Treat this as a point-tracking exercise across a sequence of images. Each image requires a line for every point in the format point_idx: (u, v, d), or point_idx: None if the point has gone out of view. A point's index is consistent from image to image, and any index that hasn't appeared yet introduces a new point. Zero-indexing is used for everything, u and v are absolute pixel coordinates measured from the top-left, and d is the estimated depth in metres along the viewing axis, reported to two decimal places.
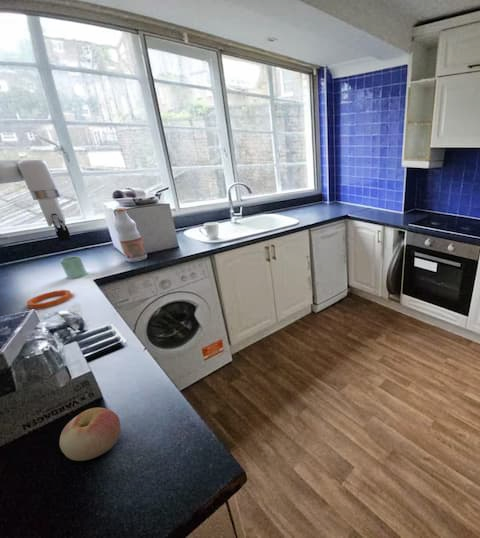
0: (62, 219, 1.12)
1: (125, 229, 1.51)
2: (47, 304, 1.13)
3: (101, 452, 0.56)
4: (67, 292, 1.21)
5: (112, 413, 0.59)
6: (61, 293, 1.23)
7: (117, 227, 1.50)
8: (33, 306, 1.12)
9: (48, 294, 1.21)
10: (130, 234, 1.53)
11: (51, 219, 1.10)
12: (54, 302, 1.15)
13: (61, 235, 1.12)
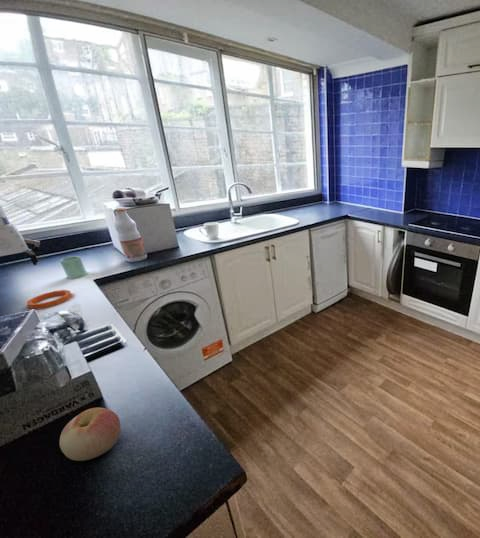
0: None
1: (125, 229, 1.51)
2: (47, 304, 1.13)
3: (101, 452, 0.56)
4: (67, 292, 1.21)
5: (112, 413, 0.59)
6: (61, 293, 1.23)
7: (117, 227, 1.50)
8: (33, 306, 1.12)
9: (48, 294, 1.21)
10: (130, 234, 1.53)
11: (25, 243, 1.09)
12: (54, 302, 1.15)
13: (36, 258, 1.12)
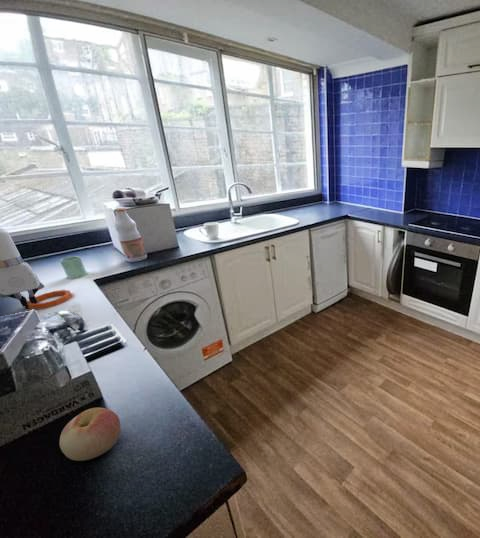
0: None
1: (125, 229, 1.51)
2: (47, 304, 1.13)
3: (101, 452, 0.56)
4: (67, 292, 1.21)
5: (112, 413, 0.59)
6: (61, 293, 1.23)
7: (117, 227, 1.50)
8: (33, 306, 1.12)
9: (48, 294, 1.21)
10: (130, 234, 1.53)
11: (37, 280, 1.13)
12: (54, 302, 1.15)
13: (35, 299, 1.15)
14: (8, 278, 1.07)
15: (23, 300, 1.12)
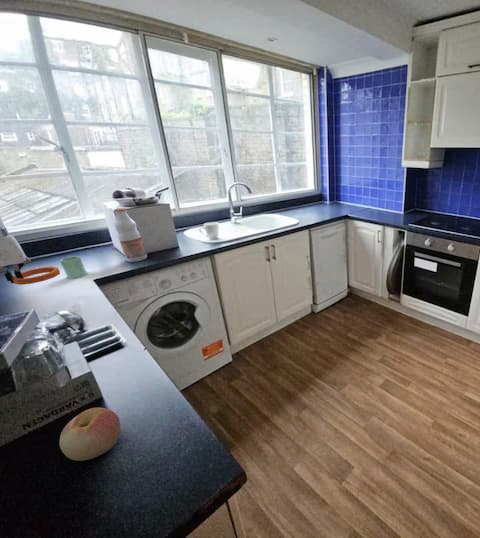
0: None
1: (125, 229, 1.51)
2: (33, 279, 1.09)
3: (101, 452, 0.56)
4: (55, 268, 1.17)
5: (112, 413, 0.59)
6: (49, 270, 1.19)
7: (117, 227, 1.50)
8: (18, 281, 1.08)
9: (35, 270, 1.17)
10: (130, 234, 1.53)
11: (24, 254, 1.09)
12: (41, 277, 1.11)
13: (21, 274, 1.11)
14: None
15: (8, 274, 1.08)
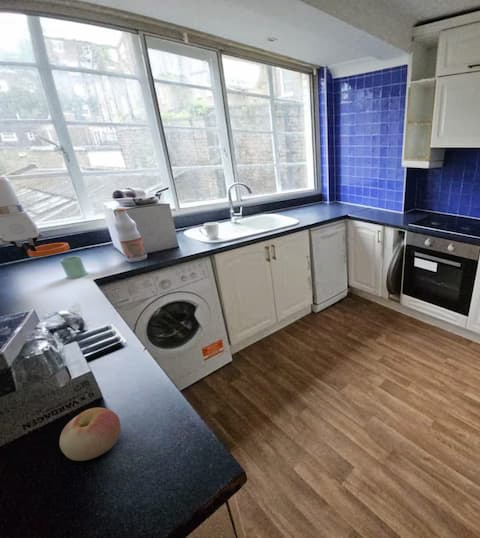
0: None
1: (125, 229, 1.51)
2: (45, 252, 1.20)
3: (101, 452, 0.56)
4: (65, 244, 1.27)
5: (112, 413, 0.59)
6: (59, 245, 1.29)
7: (117, 227, 1.50)
8: (32, 253, 1.18)
9: (47, 245, 1.27)
10: (130, 234, 1.53)
11: (37, 229, 1.20)
12: (52, 251, 1.21)
13: (35, 248, 1.21)
14: (9, 224, 1.13)
15: (23, 247, 1.18)
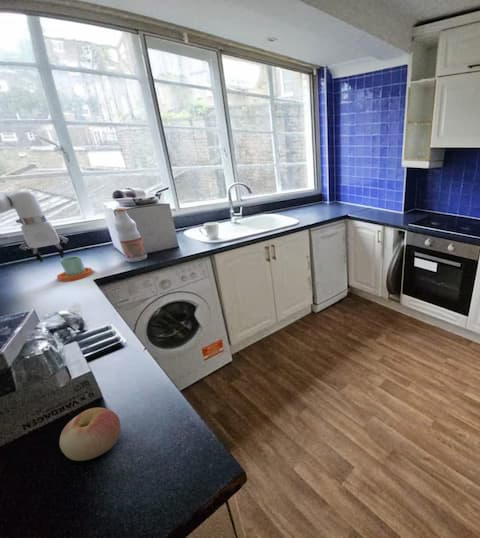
0: None
1: (125, 229, 1.51)
2: (74, 277, 1.37)
3: (101, 452, 0.56)
4: (89, 269, 1.45)
5: (112, 413, 0.59)
6: None
7: (117, 227, 1.50)
8: (62, 279, 1.36)
9: None
10: (130, 234, 1.53)
11: (58, 237, 1.33)
12: (79, 276, 1.38)
13: (63, 252, 1.36)
14: (34, 233, 1.27)
15: (38, 254, 1.30)
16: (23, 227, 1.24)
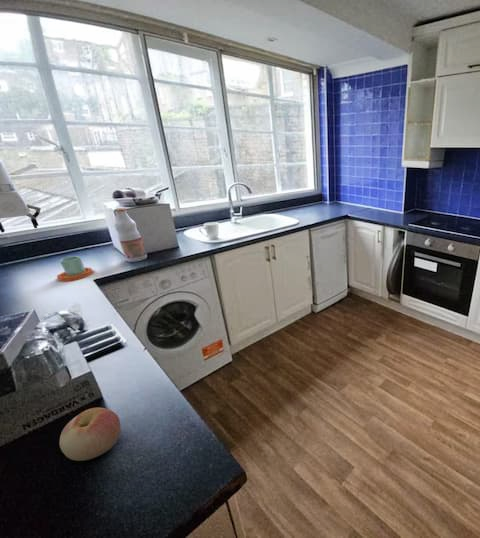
0: None
1: (125, 229, 1.51)
2: (74, 277, 1.37)
3: (101, 452, 0.56)
4: (89, 269, 1.45)
5: (112, 413, 0.59)
6: None
7: (117, 227, 1.50)
8: (62, 279, 1.36)
9: None
10: (130, 234, 1.53)
11: (28, 208, 1.25)
12: (79, 276, 1.38)
13: None
14: (1, 202, 1.19)
15: None
16: None
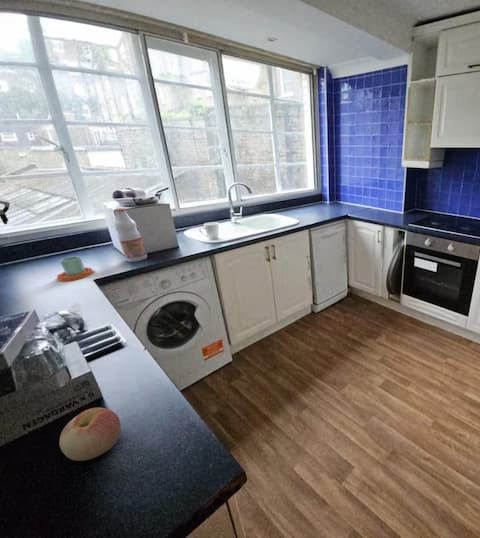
0: None
1: (125, 229, 1.51)
2: (74, 277, 1.37)
3: (101, 452, 0.56)
4: (89, 269, 1.45)
5: (112, 413, 0.59)
6: None
7: (117, 227, 1.50)
8: (62, 279, 1.36)
9: None
10: (130, 234, 1.53)
11: None
12: (79, 276, 1.38)
13: (6, 217, 1.24)
14: None
15: None
16: None
